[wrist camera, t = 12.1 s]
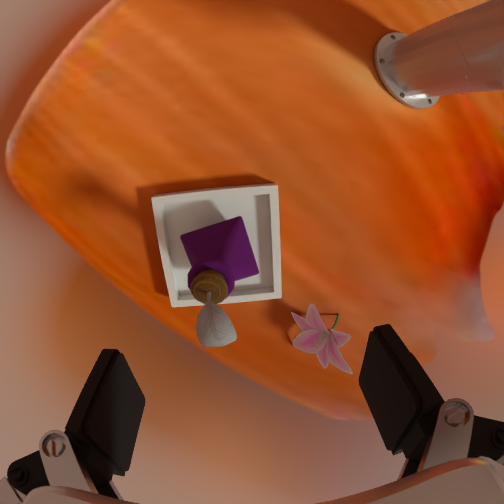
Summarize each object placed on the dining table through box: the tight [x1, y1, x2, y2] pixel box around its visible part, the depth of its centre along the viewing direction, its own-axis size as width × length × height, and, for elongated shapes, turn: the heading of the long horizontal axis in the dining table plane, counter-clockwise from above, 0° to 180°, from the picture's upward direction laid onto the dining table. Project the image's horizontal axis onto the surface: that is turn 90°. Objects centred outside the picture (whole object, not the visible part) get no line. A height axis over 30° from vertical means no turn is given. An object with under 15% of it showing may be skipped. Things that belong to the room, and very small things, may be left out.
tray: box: [151, 183, 282, 307], centre depth 35 cm, size 15×15×2 cm
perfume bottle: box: [180, 216, 259, 347], centre depth 27 cm, size 8×8×18 cm
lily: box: [291, 303, 353, 374], centre depth 38 cm, size 12×12×10 cm
